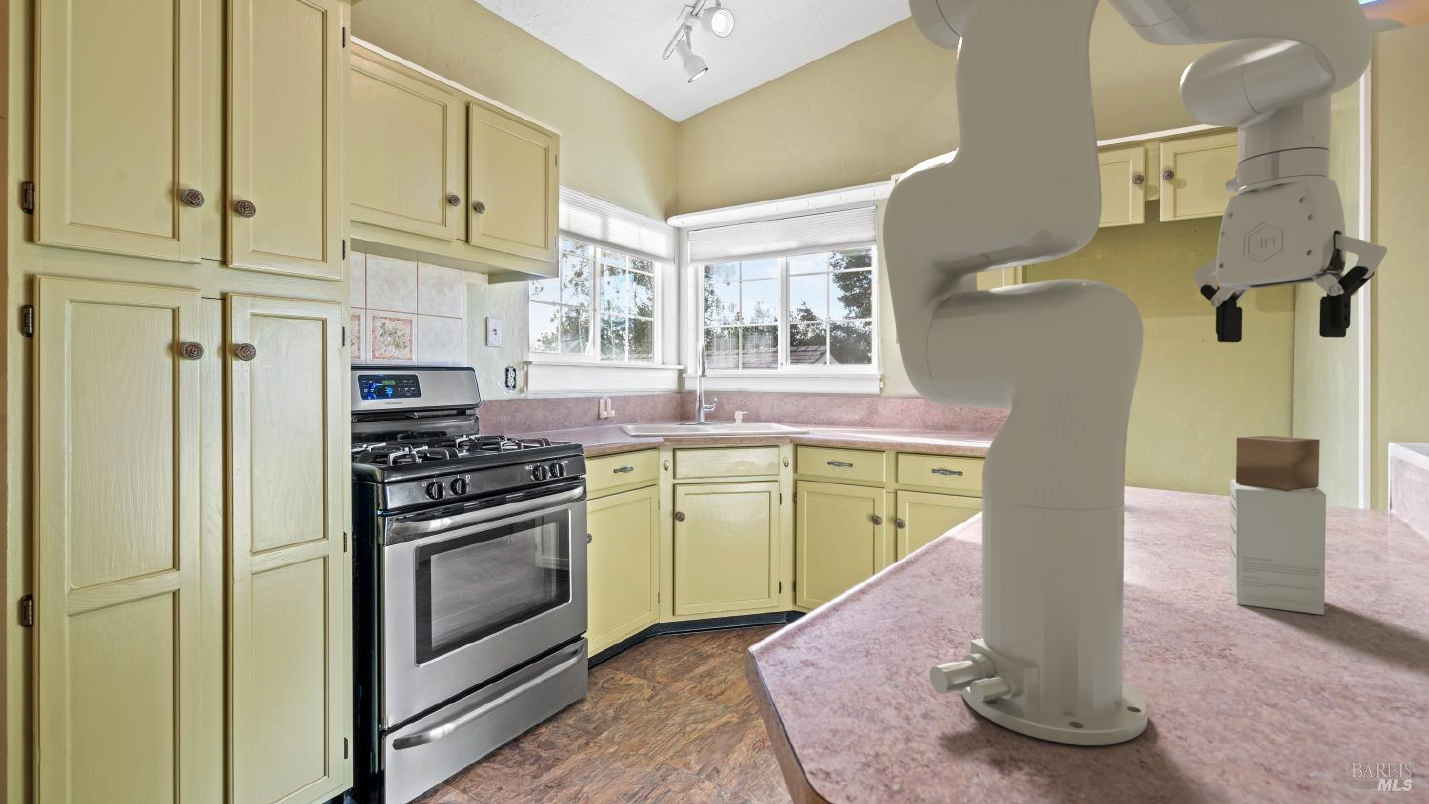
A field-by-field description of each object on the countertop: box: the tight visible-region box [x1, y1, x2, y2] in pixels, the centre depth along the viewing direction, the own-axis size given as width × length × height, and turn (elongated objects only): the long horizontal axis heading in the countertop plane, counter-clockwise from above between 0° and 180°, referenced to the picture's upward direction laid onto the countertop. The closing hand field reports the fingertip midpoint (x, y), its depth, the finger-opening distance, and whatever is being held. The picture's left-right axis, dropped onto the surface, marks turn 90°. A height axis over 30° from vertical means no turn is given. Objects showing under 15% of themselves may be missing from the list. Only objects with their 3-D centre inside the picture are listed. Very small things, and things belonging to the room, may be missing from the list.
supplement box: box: [1228, 479, 1327, 616], centre depth 74 cm, size 7×7×13 cm
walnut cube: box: [1235, 435, 1321, 490], centre depth 73 cm, size 5×5×5 cm
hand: (1277, 339), depth 73 cm, fingers open, 9 cm apart
